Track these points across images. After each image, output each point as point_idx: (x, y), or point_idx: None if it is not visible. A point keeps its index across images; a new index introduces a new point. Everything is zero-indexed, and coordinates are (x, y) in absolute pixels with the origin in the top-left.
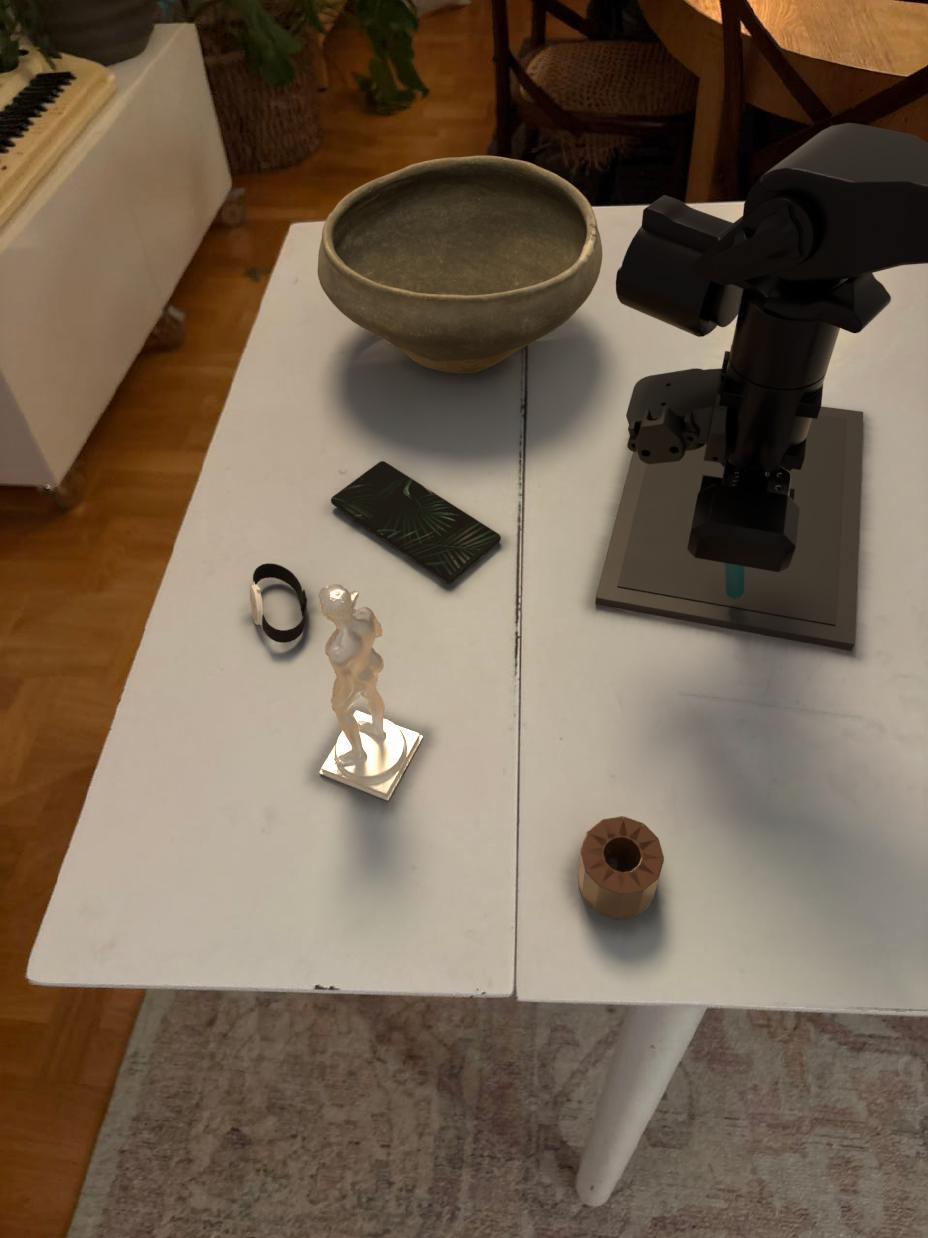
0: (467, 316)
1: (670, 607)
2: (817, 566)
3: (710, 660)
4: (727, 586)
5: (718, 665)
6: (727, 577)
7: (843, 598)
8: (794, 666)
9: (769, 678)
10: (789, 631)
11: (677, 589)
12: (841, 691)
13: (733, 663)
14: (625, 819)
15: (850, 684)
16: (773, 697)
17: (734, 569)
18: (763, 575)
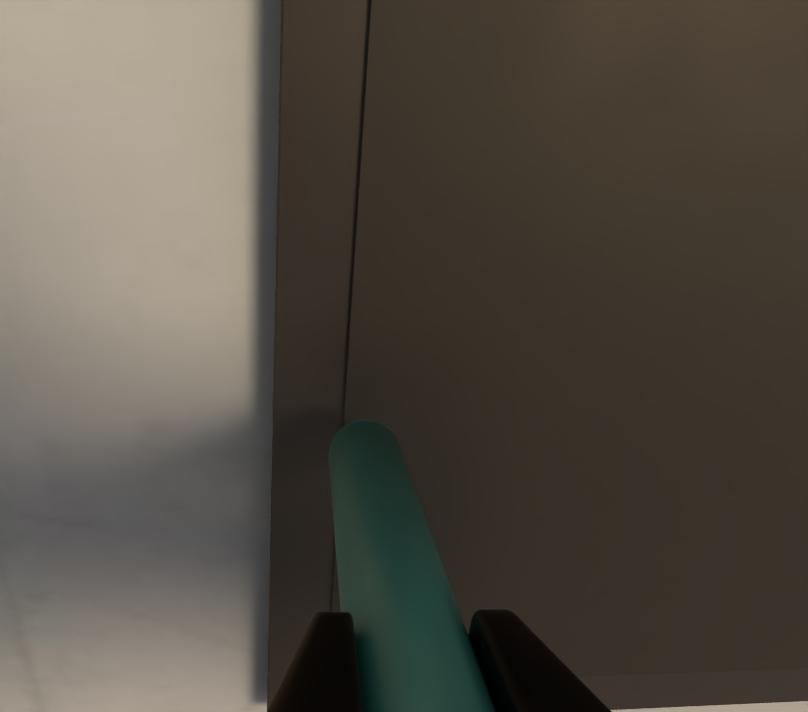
0: None
1: (298, 194)
2: (550, 632)
3: (115, 350)
4: (345, 447)
5: (101, 377)
6: (347, 471)
7: None
8: (172, 581)
9: (101, 524)
10: (273, 583)
11: (396, 217)
12: (119, 685)
13: (127, 422)
14: None
15: (152, 700)
16: (28, 539)
17: (335, 537)
18: (502, 500)
